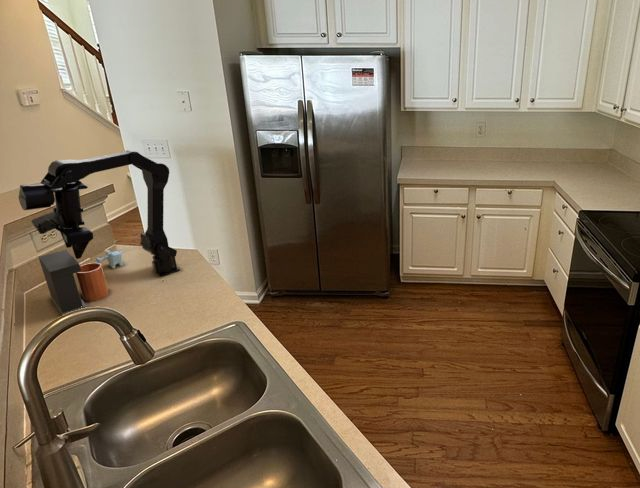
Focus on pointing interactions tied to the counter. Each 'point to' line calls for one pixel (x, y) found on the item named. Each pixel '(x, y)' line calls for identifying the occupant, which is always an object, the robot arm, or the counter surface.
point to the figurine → (112, 258)
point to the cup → (92, 281)
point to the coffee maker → (62, 280)
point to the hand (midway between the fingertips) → (73, 252)
